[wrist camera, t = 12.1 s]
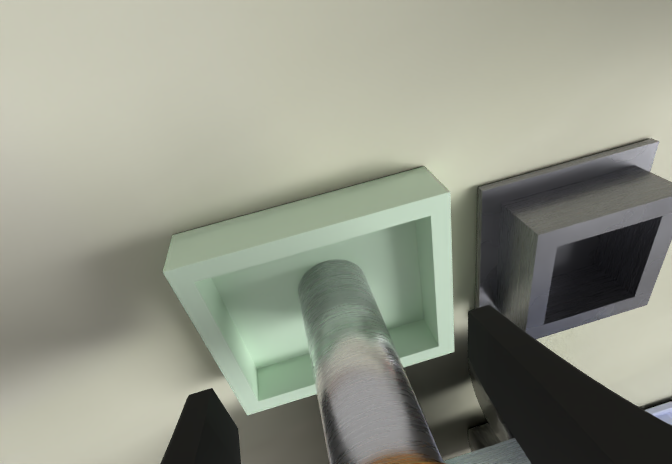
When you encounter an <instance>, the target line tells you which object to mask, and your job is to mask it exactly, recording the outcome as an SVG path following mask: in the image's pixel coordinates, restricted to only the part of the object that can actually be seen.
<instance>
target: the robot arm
mask: <svg viewBox="0 0 672 464" xmlns="http://www.w3.org/2000/svg"><path fill="white" fill-rule="evenodd" d="M468 358H469V360H470V362H471V364H472V366H473V369H474V371H475V373H476V375H477V377H478V379H479V381H480V383H481V384H482V386H483V388H484V390H485V392H486V394H487V395H488V397H489V399H490V400H491V402H492V403H493V405H494V406H495V408H496V410H497V411H498V413H499V414H500V416H501V417H502V419H503V421H504V422H505V424H506V425H507V427H508V428H509V430H510V431H511V433H512V434H513V436H514V438H515V439H516V441H517V442H518V444H519V445H520V447H521V448H522V450H523V451H524V453H525V455H526V456H527V458H528V459H529V461H530V462H531V464H672V401H670V402H667V403H664V404H661V405H658V406H655V407H652V408H649V409H646V410H643V409H641V408H640V407H638V406H636V405H634V404H633V403H631V402H629V401H628V400H626V399H624V398H623V397H621V396H619V395H618V394H616V393H614V392H613V391H611V390H609V389H608V388H606V387H605V386H603V385H602V384H600V383H598V382H597V381H595V380H594V379H592V378H591V377H589V376H587V375H586V374H584V373H583V372H581V371H580V370H578V369H577V368H575V367H574V366H573V365H571V364H570V363H568V362H567V361H565V360H564V359H562V358H561V357H560V356H558V355H557V354H555V353H554V352H552V351H551V350H550V349H548V348H547V347H545V346H544V345H543V344H541V343H540V342H538V341H537V340H536V339H534V338H533V337H532V336H530V335H529V334H528V333H526V332H525V331H524V330H522V329H521V328H520V327H518V326H517V325H516V324H514V323H513V322H512V321H510V320H509V319H508V318H507V317H505V316H504V315H503V314H501V313H500V312H499V311H498V310H496V309H495V308H494V307H492V306H491V305H486V306H483V307H480V308H476V309H473V310H470V311H468ZM161 464H241V459H240V446H239V434H238V428H237V426H236V425H235V423H234V421H233V420H232V418H231V417H230V415H229V414H228V412H227V410H226V409H225V407H224V406H223V404H222V403H221V401H220V400H219V398H218V396H217V395H216V393H215V392H214V390H213V389H212V388H211V389H207V390H204V391H201V392H197V393H194V394H191V395H189V396H188V398H187V400H186V403H185V405H184V408H183V410H182V413H181V415H180V418H179V420H178V423H177V425H176V428H175V430H174V433H173V435H172V438H171V440H170V443H169V445H168V447H167V450H166V452H165V455H164V457H163V459H162V462H161Z"/></svg>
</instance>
